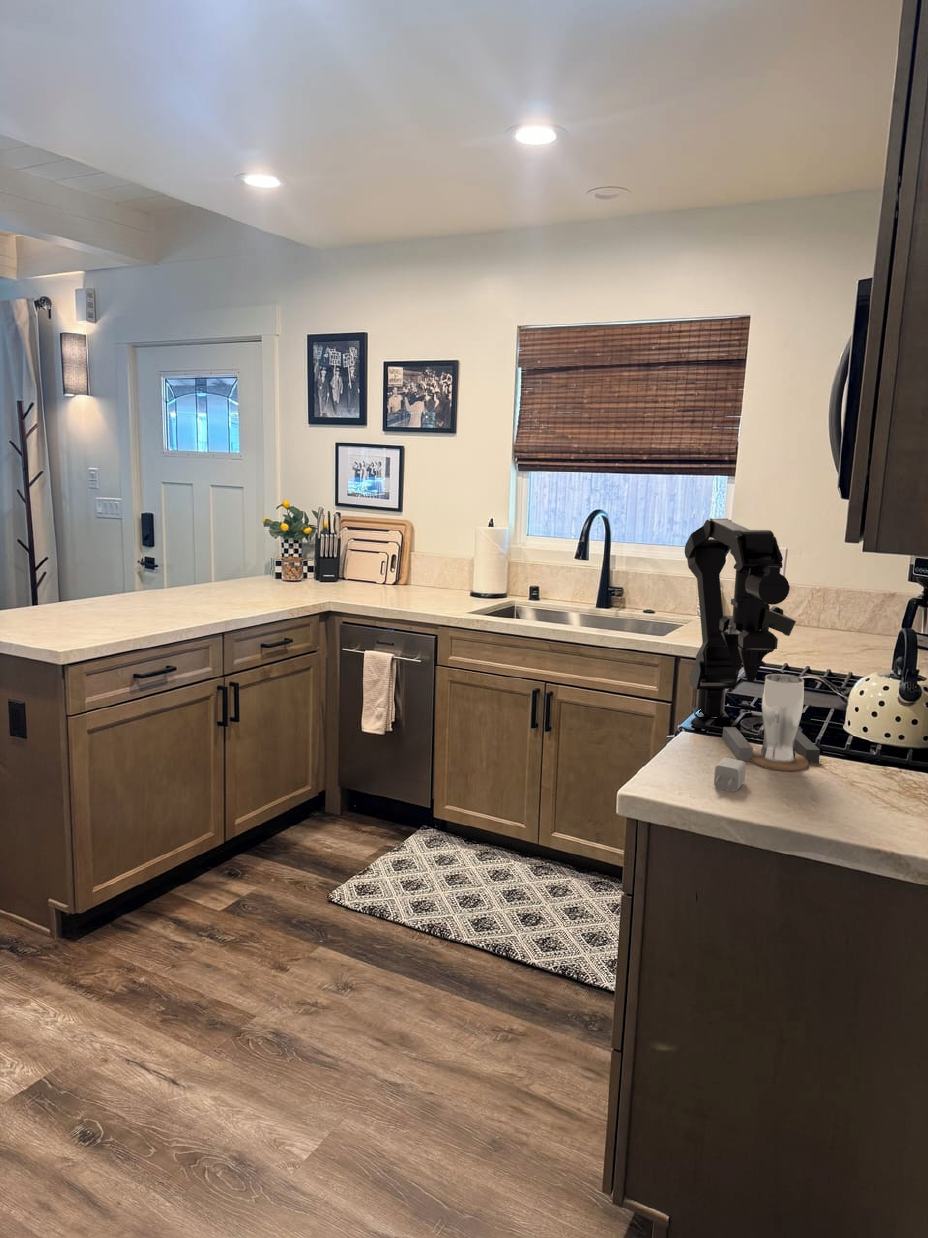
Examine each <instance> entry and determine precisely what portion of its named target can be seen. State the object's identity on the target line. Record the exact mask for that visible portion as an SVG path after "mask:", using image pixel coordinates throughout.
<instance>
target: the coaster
mask: <svg viewBox="0 0 928 1238" xmlns="http://www.w3.org/2000/svg"><path fill="white" fill-rule="evenodd" d="M761 749H762V748H760V749H756V750H753V754H752V757H751V762H752V763H753V764H754V765H757V766H759V767H762V768H764V769H769V770H773V771H777V772H778V771H780V772H800V771H803V770H806V769H807V768H808V767H809V762H808V760H807V759H805V758H804V757H803V756H802V755H799V754H797V753H796V752H795V756H796V760H795V761H794V762H792V763H787V764H782V763H774V762H770V761H767V760H764V759H763V758H761V756H760V753H761Z"/></svg>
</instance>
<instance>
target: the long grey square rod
mask: <svg viewBox="0 0 928 1238" xmlns="http://www.w3.org/2000/svg"><path fill="white" fill-rule="evenodd" d="M795 753H797V754H799V755H802V756H803V757H804V758H805V759H807V760H808V763H820V758H821V757H820V755H821V749H820V748H819V747H818V746H817V745H816V744H814V743H813V742H812V741H811V740H810V739H809V738H808V737H807V735H805V734H804V733H803V732H802V731H801V730H800V729H797V732H796V736H795Z"/></svg>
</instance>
